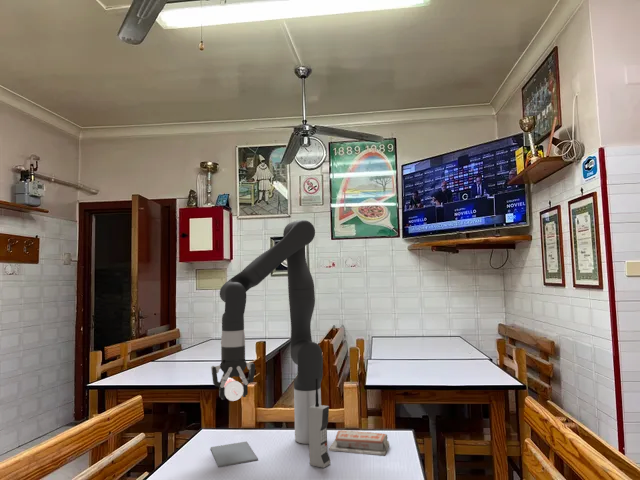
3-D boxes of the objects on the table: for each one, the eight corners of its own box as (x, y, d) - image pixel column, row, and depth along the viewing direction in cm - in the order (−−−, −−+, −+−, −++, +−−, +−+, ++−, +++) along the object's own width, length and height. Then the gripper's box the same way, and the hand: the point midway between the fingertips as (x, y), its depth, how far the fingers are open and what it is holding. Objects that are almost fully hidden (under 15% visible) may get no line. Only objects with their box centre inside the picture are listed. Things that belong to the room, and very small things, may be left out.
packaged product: (389, 430, 148) (384, 441, 139) (389, 445, 148) (385, 457, 138) (336, 426, 154) (328, 436, 144) (336, 441, 153) (328, 452, 144)
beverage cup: (219, 394, 150) (226, 405, 137) (220, 375, 151) (228, 384, 138) (237, 394, 152) (246, 404, 139) (239, 375, 153) (247, 384, 140)
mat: (246, 442, 152) (246, 441, 152) (258, 460, 138) (258, 458, 138) (210, 448, 148) (210, 447, 148) (218, 467, 133) (218, 465, 133)
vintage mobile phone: (324, 468, 130) (321, 380, 132) (309, 465, 133) (307, 378, 135) (330, 463, 133) (328, 377, 136) (316, 460, 136) (314, 376, 138)
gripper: (212, 347, 139) (212, 403, 137) (257, 344, 144) (258, 397, 143) (208, 344, 146) (208, 397, 144) (252, 341, 151) (253, 392, 150)
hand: (233, 397), depth 144 cm, fingers closed on beverage cup, 6 cm apart
